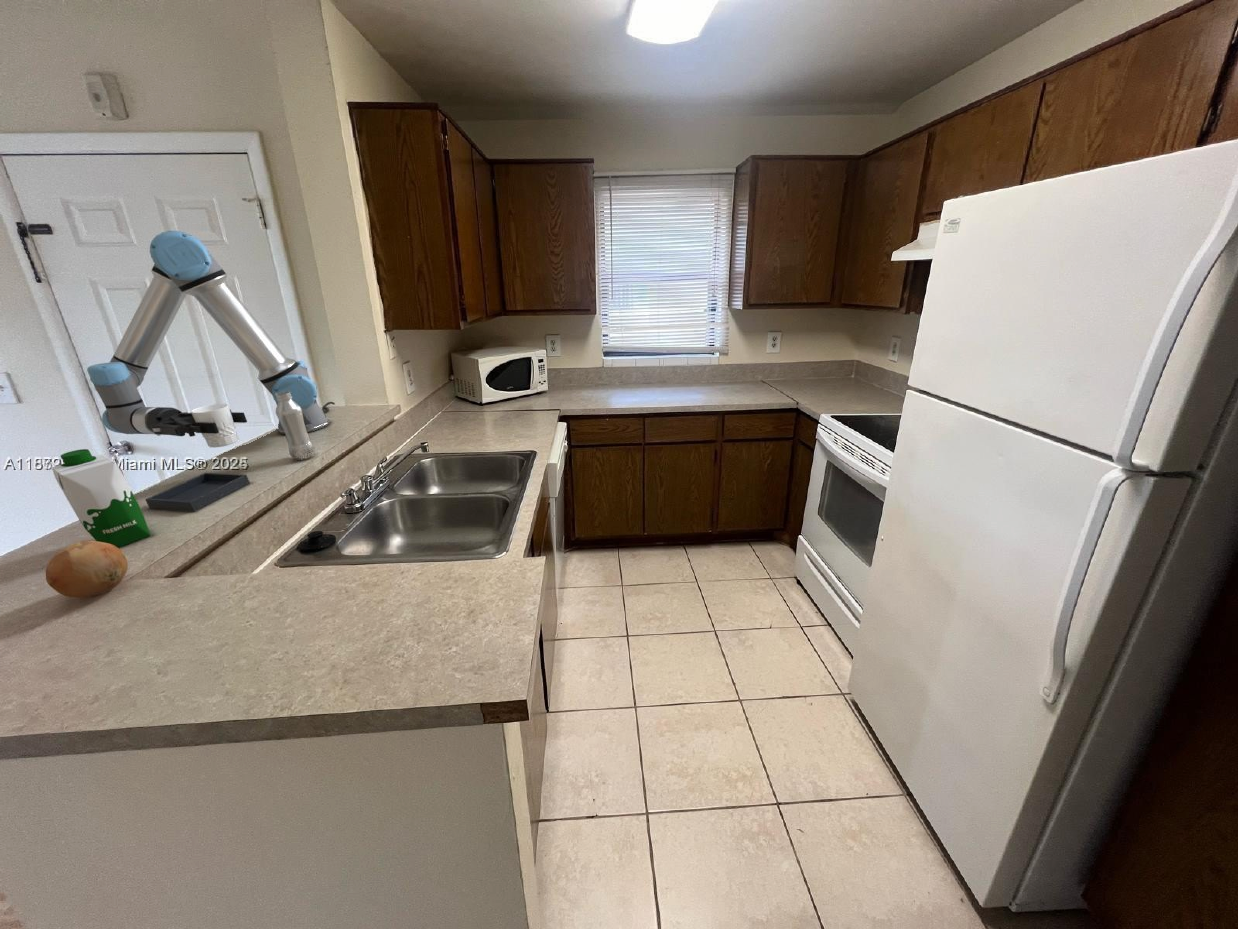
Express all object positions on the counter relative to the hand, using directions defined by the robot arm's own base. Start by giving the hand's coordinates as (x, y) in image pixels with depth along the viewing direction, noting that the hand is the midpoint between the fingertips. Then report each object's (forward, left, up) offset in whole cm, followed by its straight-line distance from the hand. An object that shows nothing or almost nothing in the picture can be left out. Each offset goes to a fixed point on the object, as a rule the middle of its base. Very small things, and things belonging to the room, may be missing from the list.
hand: (230, 422), depth 125 cm
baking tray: (+12, -2, -15) cm, 20 cm away
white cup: (0, -5, -6) cm, 8 cm away
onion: (+48, +17, -16) cm, 53 cm away
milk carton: (+32, +1, -16) cm, 36 cm away
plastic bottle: (-13, +6, -16) cm, 21 cm away
